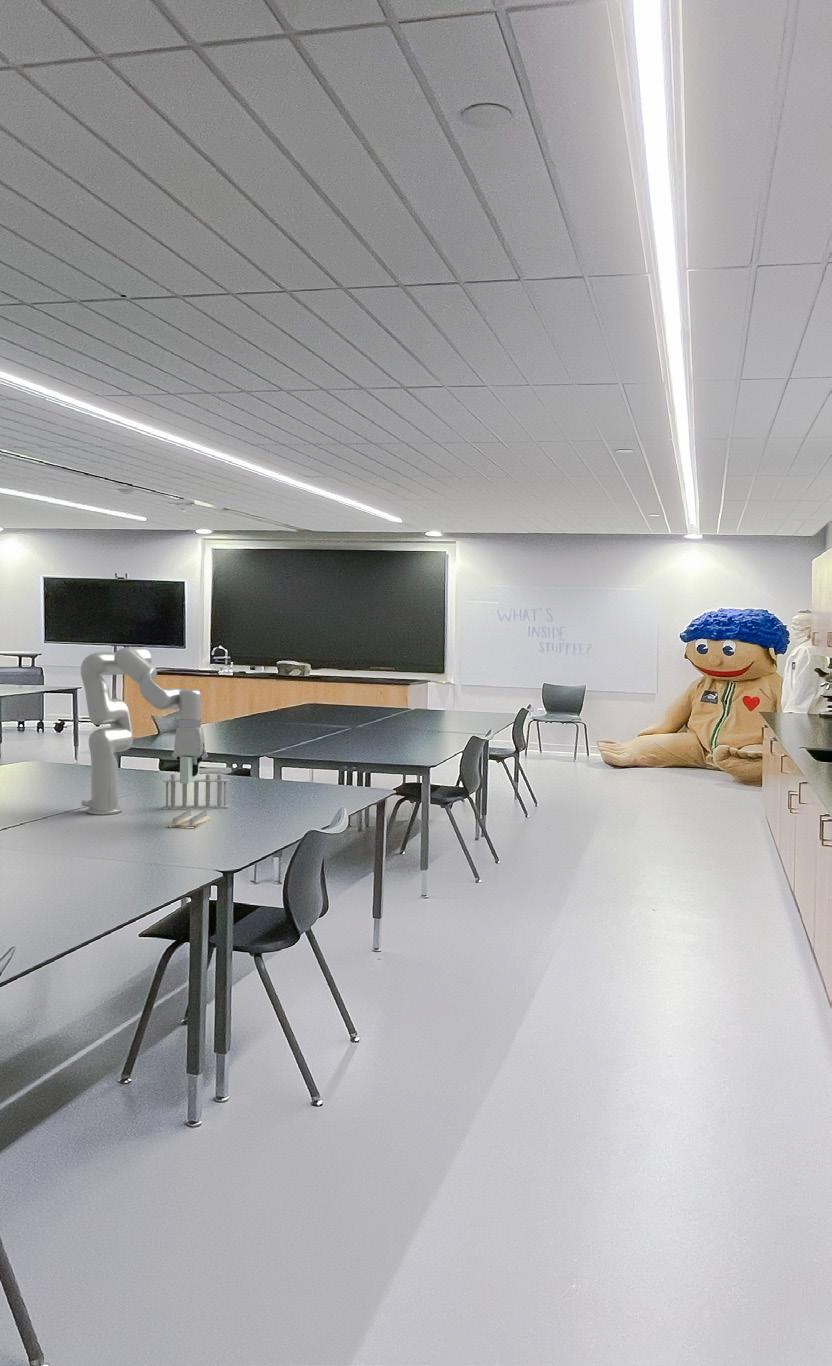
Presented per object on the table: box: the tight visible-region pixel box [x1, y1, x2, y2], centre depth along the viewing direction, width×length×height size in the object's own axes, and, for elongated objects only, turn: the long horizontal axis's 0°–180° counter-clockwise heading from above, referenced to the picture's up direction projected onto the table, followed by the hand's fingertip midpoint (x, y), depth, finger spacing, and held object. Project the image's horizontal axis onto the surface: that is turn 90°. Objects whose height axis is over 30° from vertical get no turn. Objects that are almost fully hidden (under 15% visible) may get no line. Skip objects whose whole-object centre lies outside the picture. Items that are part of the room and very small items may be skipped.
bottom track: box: [167, 810, 212, 829], centre depth 355 cm, size 10×18×3 cm, turn 174°
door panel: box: [179, 756, 200, 785], centre depth 354 cm, size 3×12×9 cm, turn 174°
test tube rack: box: [162, 773, 230, 809], centre depth 385 cm, size 25×4×13 cm, turn 99°
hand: (189, 774), depth 354 cm, fingers closed on door panel, 3 cm apart
